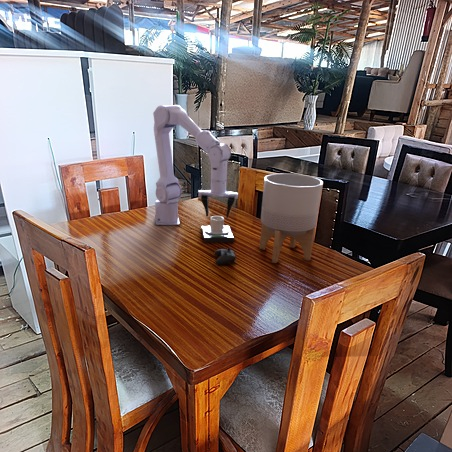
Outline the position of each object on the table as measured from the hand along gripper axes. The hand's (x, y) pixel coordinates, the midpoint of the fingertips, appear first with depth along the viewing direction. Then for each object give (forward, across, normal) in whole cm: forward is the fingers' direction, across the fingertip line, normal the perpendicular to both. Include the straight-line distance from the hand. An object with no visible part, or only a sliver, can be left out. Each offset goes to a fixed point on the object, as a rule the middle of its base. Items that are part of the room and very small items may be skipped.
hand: (217, 216), depth 151 cm
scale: (+8, 0, +1) cm, 8 cm away
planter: (+8, -25, +14) cm, 30 cm away
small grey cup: (+5, 0, 0) cm, 5 cm away
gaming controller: (+8, -5, +24) cm, 25 cm away
